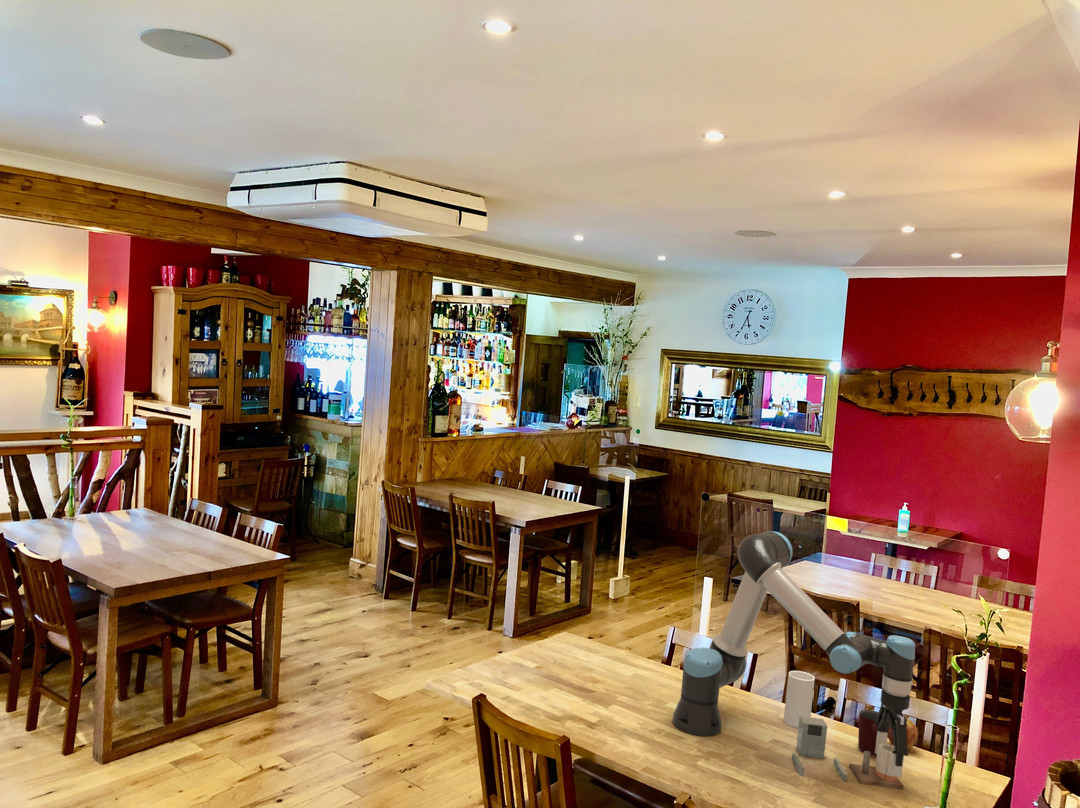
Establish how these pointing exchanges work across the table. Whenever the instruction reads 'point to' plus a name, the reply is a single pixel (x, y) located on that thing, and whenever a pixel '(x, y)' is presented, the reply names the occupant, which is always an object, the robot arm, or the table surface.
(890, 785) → the brown peg board
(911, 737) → the apple
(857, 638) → the robot arm
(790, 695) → the cup
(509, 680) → the table surface
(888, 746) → the sleeve
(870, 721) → the mug
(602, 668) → the table surface
